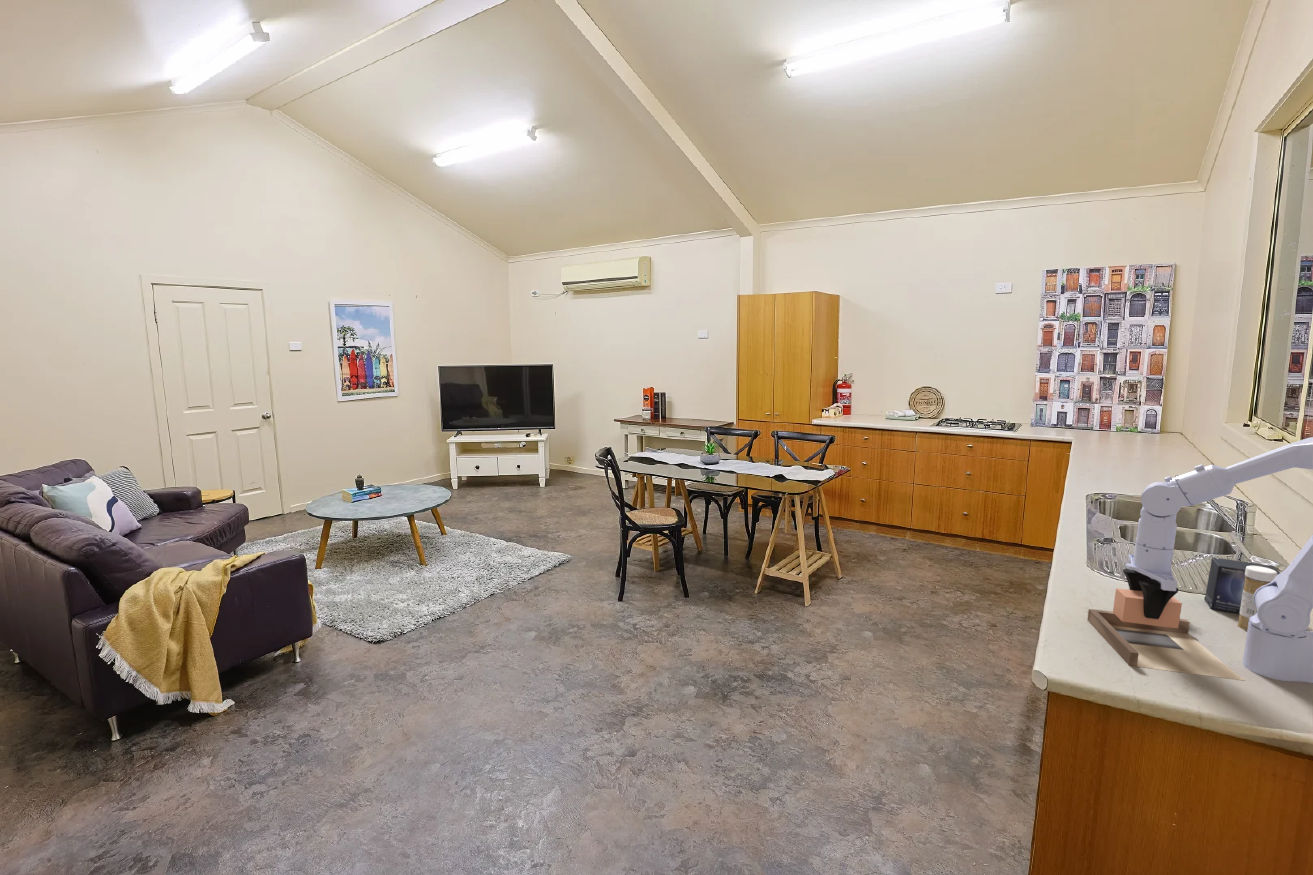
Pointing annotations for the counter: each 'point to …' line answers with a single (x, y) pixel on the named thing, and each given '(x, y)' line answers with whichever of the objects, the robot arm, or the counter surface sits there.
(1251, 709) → the counter surface
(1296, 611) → the robot arm
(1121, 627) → the tray
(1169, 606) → the terracotta bar
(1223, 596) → the small box
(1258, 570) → the sprinkles bottle
